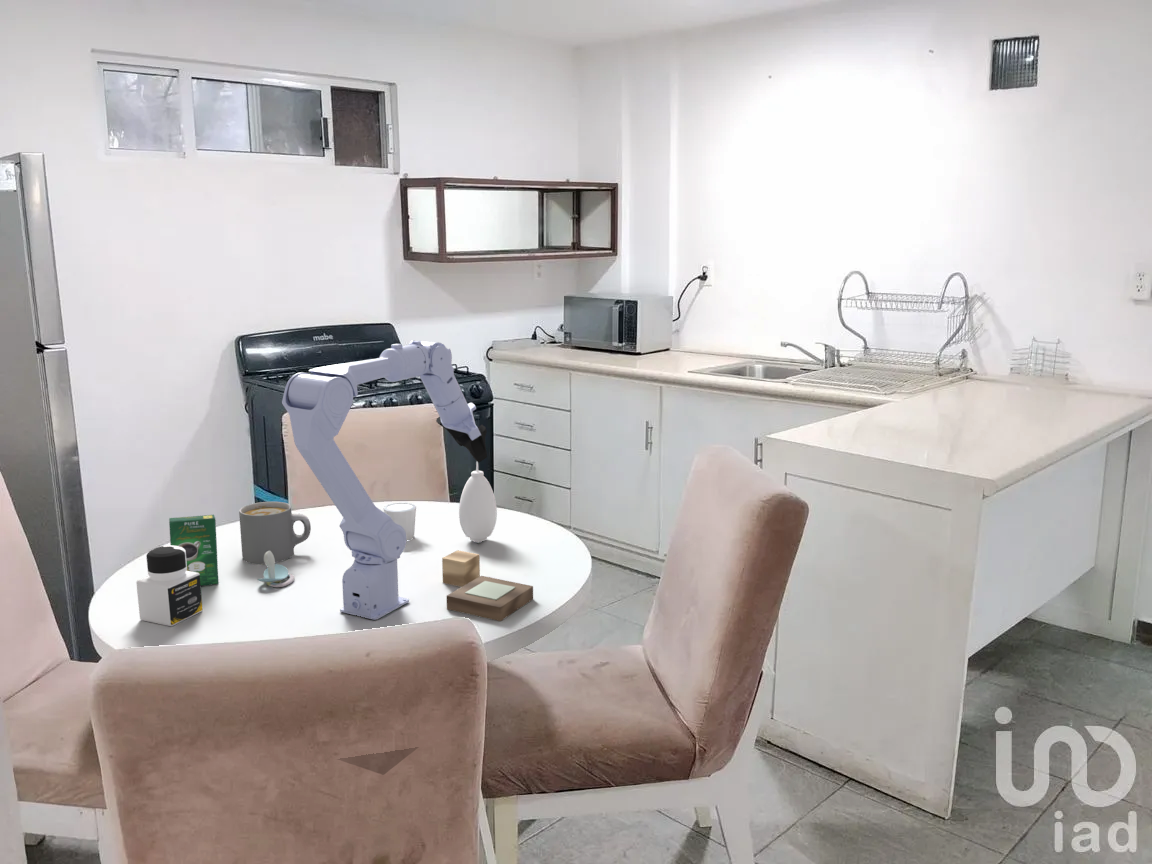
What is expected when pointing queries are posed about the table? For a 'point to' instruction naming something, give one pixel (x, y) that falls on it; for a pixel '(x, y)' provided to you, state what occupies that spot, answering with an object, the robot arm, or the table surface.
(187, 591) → the medicine bottle
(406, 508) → the white cup
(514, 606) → the walnut base
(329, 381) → the robot arm
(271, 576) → the pacifier
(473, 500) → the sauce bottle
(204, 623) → the table surface
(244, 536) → the coffee mug
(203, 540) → the coffee box
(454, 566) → the oak cube
